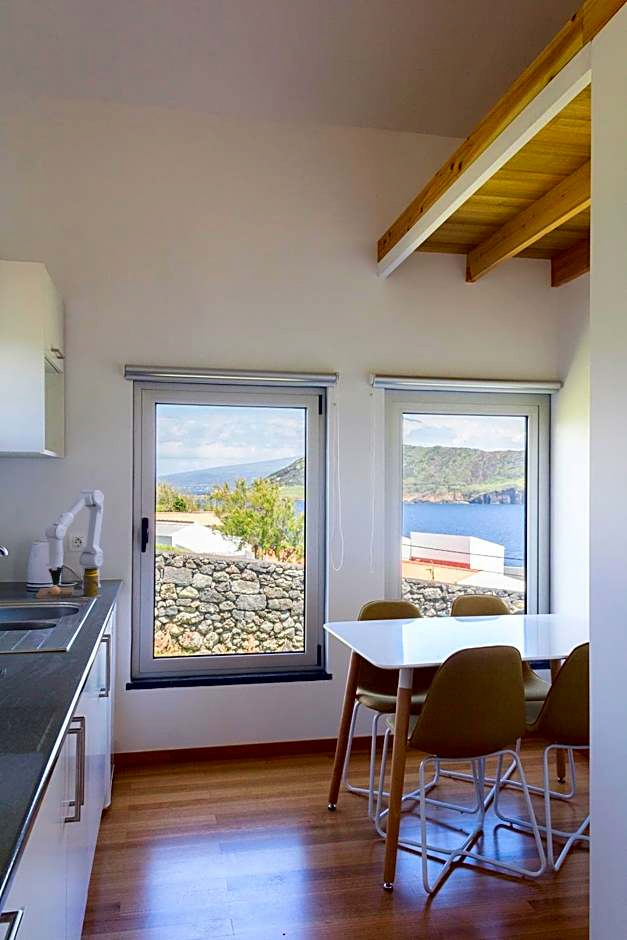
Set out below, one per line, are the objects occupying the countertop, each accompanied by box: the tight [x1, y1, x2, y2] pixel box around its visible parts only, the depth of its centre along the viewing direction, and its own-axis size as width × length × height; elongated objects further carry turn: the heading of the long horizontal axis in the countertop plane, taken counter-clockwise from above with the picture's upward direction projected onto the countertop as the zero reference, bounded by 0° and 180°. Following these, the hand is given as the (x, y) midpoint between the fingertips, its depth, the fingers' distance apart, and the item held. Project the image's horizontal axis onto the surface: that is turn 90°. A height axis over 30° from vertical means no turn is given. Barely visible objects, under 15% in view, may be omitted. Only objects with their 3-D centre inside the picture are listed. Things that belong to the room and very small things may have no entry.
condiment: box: [75, 567, 102, 599], centre depth 337 cm, size 7×8×12 cm
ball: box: [50, 585, 61, 594], centre depth 338 cm, size 4×4×4 cm
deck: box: [35, 586, 75, 599], centre depth 341 cm, size 18×14×2 cm
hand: (55, 584), depth 342 cm, fingers closed
